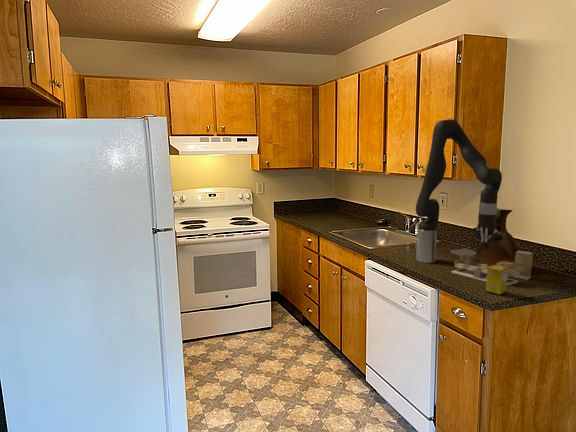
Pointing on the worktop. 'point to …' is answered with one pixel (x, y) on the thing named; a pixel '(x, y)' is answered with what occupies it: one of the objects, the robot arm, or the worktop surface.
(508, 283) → the stand
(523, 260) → the skincare box
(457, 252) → the soap mold
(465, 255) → the block
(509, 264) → the beam
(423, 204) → the robot arm
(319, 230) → the worktop surface
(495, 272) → the supplement box
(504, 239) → the ceramic pitcher
